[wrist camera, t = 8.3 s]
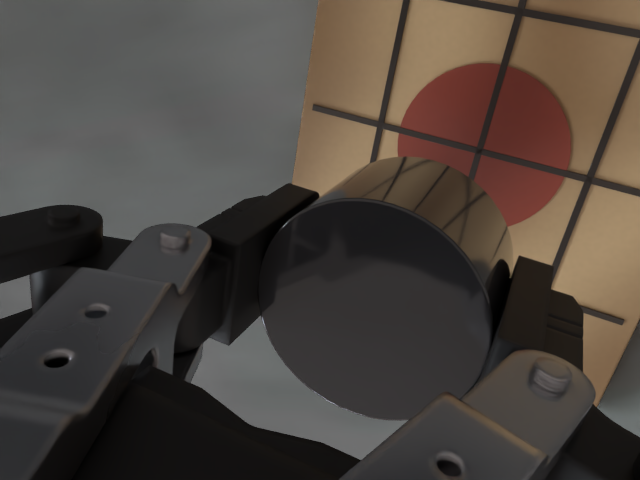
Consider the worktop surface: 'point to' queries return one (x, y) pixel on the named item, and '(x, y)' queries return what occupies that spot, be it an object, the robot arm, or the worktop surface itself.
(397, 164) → the dark grey short cylinder
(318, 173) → the grid board
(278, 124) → the worktop surface
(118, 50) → the worktop surface
